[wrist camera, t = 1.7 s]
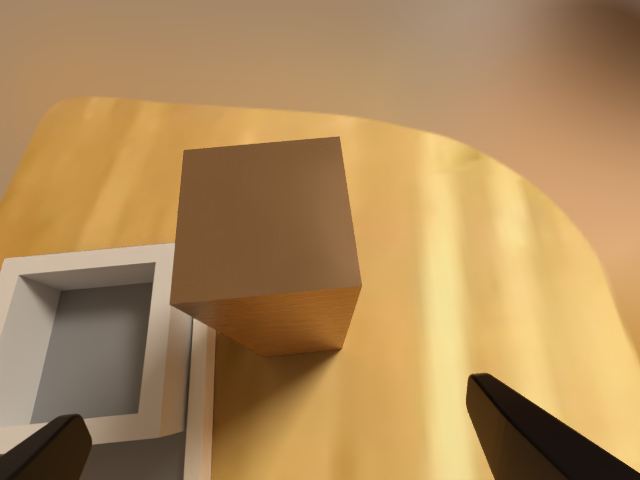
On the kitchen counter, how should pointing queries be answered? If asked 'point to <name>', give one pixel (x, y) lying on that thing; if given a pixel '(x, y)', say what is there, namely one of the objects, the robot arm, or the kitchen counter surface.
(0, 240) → the kitchen counter surface
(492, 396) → the robot arm
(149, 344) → the grey socket base
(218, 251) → the bar
